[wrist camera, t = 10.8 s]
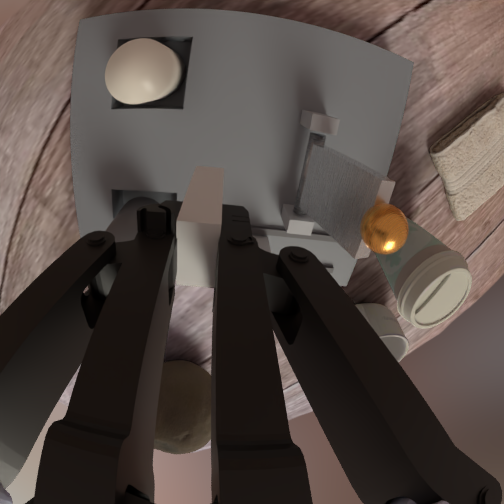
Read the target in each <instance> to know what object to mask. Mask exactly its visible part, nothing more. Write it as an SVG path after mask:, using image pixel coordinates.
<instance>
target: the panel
mask: <svg viewBox="0 0 504 504" xmlns="http://www.w3.org/2000/svg"><path fill="white" fill-rule="evenodd" d="M140 38H147V39H152V40H155V41H157V42H159V43H161V44H163V45H165V46H166V47H168V48H170V49H172V50H174V51H175V52H177V53H178V54H179V55H180V56H181V58H182V59H183V62H184V64H185V77H184V80H183V82H182V84H181V85H180V87H179V88H178V89H177V90H176V91H175V92H174V93H173V94H171V95H170V96H168V97H165V98H162V99H158V100H154V101H149V102H145V103H141V104H126V103H123V102H120V101H118V100H117V99H115V98H114V97H113V96H112V95H111V94H110V92H109V90H108V89H107V86H106V83H105V70H106V66H107V63H108V61H109V59H110V57H111V56H112V54H113V53H114V52H115V51H116V50H117V49H118V48H119V47H120V46H122V45H123V44H125V43H127V42H129V41H131V40H134V39H140ZM413 64H414V62H412V61H410V60H408V59H406V58H404V57H401V56H399V55H397V54H395V53H392V52H390V51H388V50H386V49H383V48H381V47H378V46H376V45H373V44H371V43H368V42H365V41H363V40H360V39H357V38H354V37H351V36H348V35H345V34H342V33H339V32H336V31H333V30H329V29H326V28H322V27H319V26H315V25H311V24H307V23H303V22H299V21H294V20H289V19H285V18H279V17H274V16H268V15H262V14H255V13H248V12H239V11H229V10H216V9H152V10H139V11H130V12H121V13H114V14H107V15H101V16H96V17H91V18H86V19H81V20H80V22H79V28H78V34H77V40H76V47H75V55H74V63H73V74H72V87H71V111H70V137H71V161H72V176H73V187H74V196H75V204H76V212H77V219H78V225H79V232H80V237H81V238H82V237H83V236H85V235H86V234H88V233H91V232H93V231H106V229H107V228H108V226H109V225H110V223H111V222H112V221H113V219H114V218H115V217H116V215H117V214H118V213H119V211H120V210H121V208H122V207H123V206H124V205H125V203H127V202H128V201H129V200H131V199H133V198H136V197H148V198H151V199H154V200H155V201H157V202H158V203H160V204H161V203H162V202H164V201H165V200H170V201H183V200H184V198H185V195H186V192H187V189H188V187H189V184H190V181H191V179H192V176H193V173H194V171H195V168H196V166H205V167H216V168H224V177H223V199H222V204H227V205H237V206H244V207H245V208H246V209H247V210H248V211H249V218H250V224H251V230H252V235H257V236H267V237H268V240H269V244H270V249H271V253H274V254H277V255H279V253H280V250H281V249H282V248H284V247H288V246H299V247H302V248H305V249H307V250H309V251H311V252H312V253H313V254H314V255H315V256H316V257H317V258H318V259H319V261H320V262H321V263H322V264H323V266H324V267H325V268H326V269H327V270H328V272H329V273H330V274H331V275H332V277H333V278H334V279H335V280H336V282H337V283H338V284H339V285H340V286H347V284H348V281H349V279H350V277H351V274H352V272H353V269H354V267H355V264H356V262H357V259H354V258H353V257H352V256H351V255H350V254H349V253H348V252H347V251H346V250H345V249H344V248H343V247H341V246H340V245H339V244H338V243H337V242H336V241H335V240H334V239H333V238H332V237H331V236H330V235H329V234H328V233H327V232H326V231H325V230H324V229H323V228H321V227H320V226H319V225H318V224H317V223H316V222H315V221H314V220H313V219H312V218H311V217H310V216H309V215H299V214H296V213H295V212H293V208H294V204H295V200H296V195H297V191H298V187H299V182H300V178H301V173H302V169H303V164H304V160H305V155H306V150H307V146H308V141H309V136H310V132H315V133H319V134H323V135H325V136H326V140H325V146H328V147H330V148H332V149H334V150H336V151H339V152H341V153H343V154H345V155H347V156H349V157H351V158H353V159H354V160H356V161H358V162H360V163H362V164H364V165H366V166H368V167H370V168H371V169H373V170H375V171H377V172H379V173H381V174H382V175H384V176H386V177H387V174H388V170H389V167H390V164H391V160H392V157H393V153H394V149H395V146H396V142H397V138H398V134H399V130H400V126H401V122H402V118H403V114H404V110H405V105H406V100H407V96H408V91H409V86H410V81H411V75H412V70H413Z"/></svg>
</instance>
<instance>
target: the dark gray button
mask: <svg viewBox="0 0 504 504" xmlns="http://www.w3.org/2000/svg"><path fill="white" fill-rule="evenodd" d="M149 204H160V203H158V202H157V201H155V200H154V199H151V198H148V197H136V198H133V199H131V200H129V201H128V202H127V203H125V205H124V206H123V207H122V208H121V210H120V211H119V213H118V214H117V215H116V217H115V218H114V219H113V221H112V222H111V223H110V225H109V226H108V228H107V229H106V231H107V232H110V233H112V234H113V235H114V236H115V242H123V241H130V240H133V239H134V238H135V236H136V234H137V232H138V231H137V210H138V209H139V208H140V207H142V206H145V205H149Z"/></svg>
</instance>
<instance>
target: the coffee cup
mask: <svg viewBox="0 0 504 504" xmlns="http://www.w3.org/2000/svg"><path fill="white" fill-rule="evenodd" d="M405 217H406V216H405ZM406 219H407V222H408V227H409V231H408V237H407V240H406V242H405V244H404V245H403V246H402V247H401V248H400V249H399V250H398V251H396V252H394V253H391V254H378V253H375V254H376V257H377V259H378V261H379V263H380V265H381V267H382V269H383V271H384V273H385V275H386V277H387V280H388V282H389V284H390V286H391V288H392V291H393V293H394V295H395V298H396V300H397V309H398V312H399V314H400V315H401V316H402V317H403V318H404V319H405V320H406V321H408V322H410V323H411V324H412V325H413V326H415V327H416V328H420V329H425V328H430V327H433V326H436V325H438V324H440V323H442V322H443V321H445V320H446V319H448V318H449V317H450V316H452V315H453V314H454V313H455V312H456V311H457V310H458V309H459V307H460V306H461V305H462V304H463V302H464V301H465V299H466V297H467V296H468V293H469V291H470V288H471V284H472V277H471V274H470V271H469V269H468V265H467V262H466V261H465V259H464V257H463V256H462V255H461V254H460V253H459V252H457V251H453V250H451V249H450V248H448V247H447V246H446V245H445V244H443V243H442V242H441V241H439V240H438V239H437V238H435V237H434V236H433V235H431V234H430V233H429V232H427V231H426V230H425V229H423V228H422V227H420V226H419V225H418V224H416V223H415V222H413V221H412V220H410V219H409V218H407V217H406Z"/></svg>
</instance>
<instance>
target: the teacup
mask: <svg viewBox="0 0 504 504" xmlns="http://www.w3.org/2000/svg"><path fill="white" fill-rule="evenodd" d="M355 306H356V307H357V308H358V310H359V311H360V312H361V313H362V315H363V316H364V317H365V319H366V320H367V321H368V323H369V324H370V325H371V326H372V328H373V329H374V330H375V332H376V333H377V334H378V336H379V337H380V338H381V340H382V341H383V342H384V344H385V345H386V346H387V348H388V349H389V351H390V352H391V353H392V355H393V356H394V357H395V359H396V360H397V361H398V362H399V361H400V360H401V359H402V358H403V357H404V356H405V354H406V353H407V351H408V348H409V342H408V340H407V338H406V337H405V335H404V333H403V331H402V329H401V327H400V324H399V322H398V321H397V319H396V317H395V315H394V314H393V313H392V311H391V310H390V309H388V308H387V307H385V306H383V305H381V304H377V303H362V304H356V305H355Z"/></svg>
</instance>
